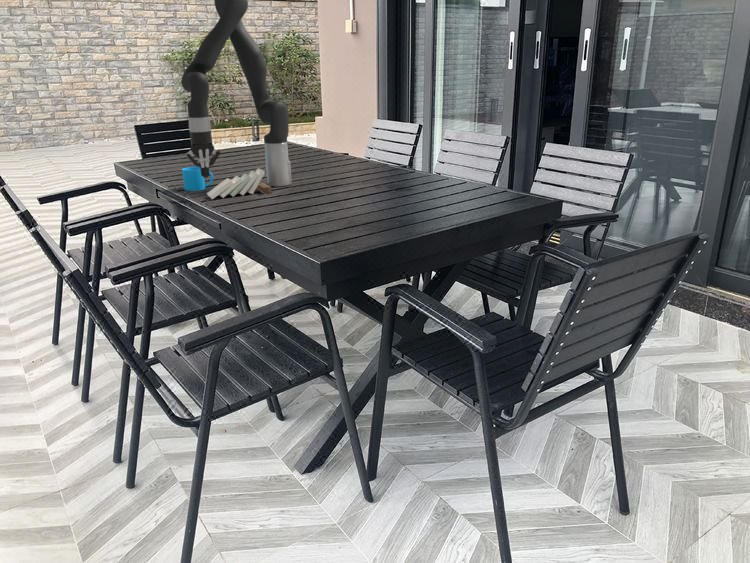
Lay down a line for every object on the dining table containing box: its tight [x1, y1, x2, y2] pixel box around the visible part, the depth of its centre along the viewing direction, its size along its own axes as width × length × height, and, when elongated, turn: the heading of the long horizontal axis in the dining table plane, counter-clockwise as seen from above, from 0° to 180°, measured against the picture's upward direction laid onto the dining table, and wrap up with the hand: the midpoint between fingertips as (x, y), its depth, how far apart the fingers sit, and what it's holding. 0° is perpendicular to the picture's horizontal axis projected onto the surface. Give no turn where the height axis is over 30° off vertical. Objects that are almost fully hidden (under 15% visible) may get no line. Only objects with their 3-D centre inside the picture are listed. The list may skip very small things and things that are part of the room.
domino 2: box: [218, 175, 243, 199], centre depth 234 cm, size 2×5×10 cm
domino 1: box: [206, 177, 234, 200], centre depth 233 cm, size 2×5×10 cm
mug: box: [181, 166, 214, 192], centre depth 248 cm, size 12×8×8 cm
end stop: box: [256, 182, 272, 195], centre depth 241 cm, size 3×9×2 cm, turn 28°
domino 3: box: [228, 172, 251, 198], centre depth 236 cm, size 2×5×10 cm
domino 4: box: [237, 170, 259, 196], centre depth 237 cm, size 2×5×10 cm
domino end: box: [246, 167, 266, 195], centre depth 238 cm, size 2×5×10 cm
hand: (205, 177), depth 229 cm, fingers closed
